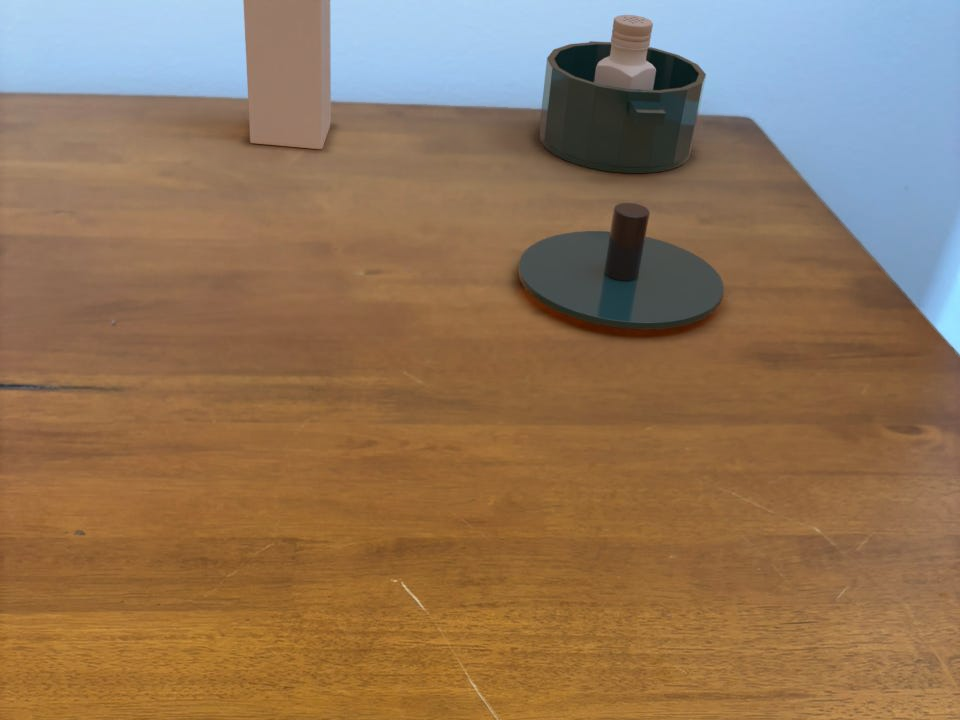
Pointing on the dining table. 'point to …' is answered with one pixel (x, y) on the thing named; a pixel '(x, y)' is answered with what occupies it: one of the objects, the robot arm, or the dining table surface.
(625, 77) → the pepper shaker
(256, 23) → the milk
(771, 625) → the dining table surface
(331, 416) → the dining table surface
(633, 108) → the pot
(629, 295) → the lid
